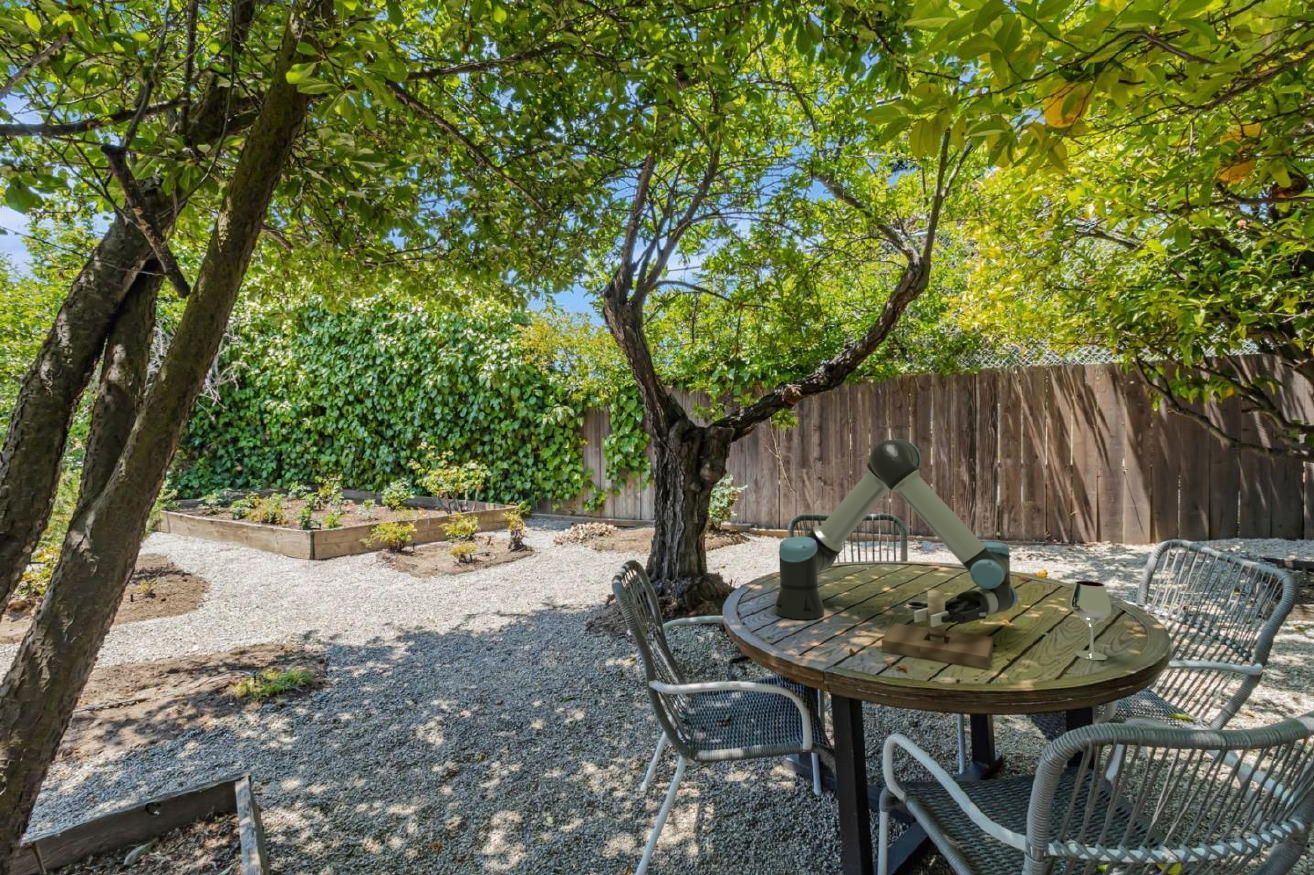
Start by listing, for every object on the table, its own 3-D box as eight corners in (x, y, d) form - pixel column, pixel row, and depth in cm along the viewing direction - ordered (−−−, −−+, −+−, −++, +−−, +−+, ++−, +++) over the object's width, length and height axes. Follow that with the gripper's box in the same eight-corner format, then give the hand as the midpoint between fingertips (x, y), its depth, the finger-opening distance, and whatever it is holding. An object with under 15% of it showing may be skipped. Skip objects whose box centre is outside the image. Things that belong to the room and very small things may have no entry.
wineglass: (1114, 655, 146) (1112, 582, 147) (1110, 665, 140) (1108, 589, 141) (1074, 648, 152) (1072, 578, 152) (1069, 657, 146) (1067, 584, 146)
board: (881, 651, 153) (881, 639, 153) (895, 633, 166) (894, 623, 166) (987, 669, 139) (987, 656, 139) (992, 648, 153) (992, 637, 153)
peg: (927, 647, 152) (925, 593, 152) (929, 642, 156) (928, 589, 156) (945, 650, 150) (943, 595, 150) (947, 645, 153) (946, 591, 153)
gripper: (1008, 625, 155) (955, 643, 143) (947, 610, 169) (895, 625, 157) (1007, 596, 155) (955, 612, 143) (946, 584, 169) (894, 597, 157)
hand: (923, 618), depth 150 cm, fingers closed on peg, 4 cm apart
